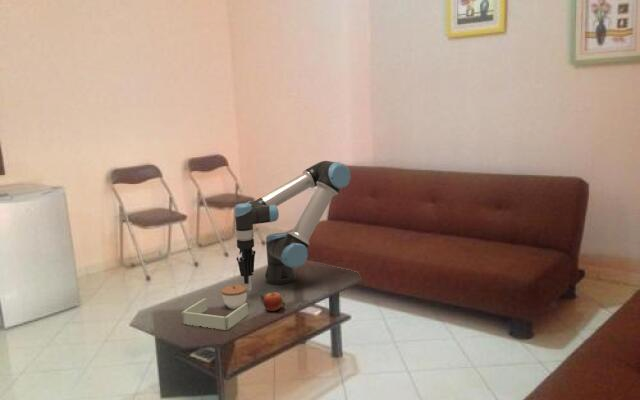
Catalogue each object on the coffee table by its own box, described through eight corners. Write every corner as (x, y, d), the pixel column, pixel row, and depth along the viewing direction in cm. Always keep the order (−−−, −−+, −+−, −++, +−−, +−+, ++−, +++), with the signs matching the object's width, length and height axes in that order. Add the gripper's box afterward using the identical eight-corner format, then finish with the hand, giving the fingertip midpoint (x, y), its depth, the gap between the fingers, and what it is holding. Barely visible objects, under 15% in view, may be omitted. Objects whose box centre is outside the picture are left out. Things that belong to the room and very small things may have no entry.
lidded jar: (243, 311, 223) (241, 289, 222) (218, 310, 225) (217, 289, 224) (251, 301, 234) (249, 281, 232) (228, 301, 236) (226, 280, 234)
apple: (286, 309, 222) (285, 291, 221) (270, 314, 218) (269, 296, 216) (276, 304, 229) (275, 286, 227) (260, 309, 224) (259, 291, 223)
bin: (205, 309, 227) (204, 298, 226) (248, 314, 219) (247, 303, 218) (182, 324, 213) (181, 312, 212) (227, 330, 205) (226, 318, 204)
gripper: (245, 234, 243) (248, 284, 247) (229, 241, 231) (233, 293, 235) (259, 235, 240) (262, 286, 244) (244, 242, 228) (248, 295, 232)
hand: (248, 289), depth 240 cm, fingers closed
